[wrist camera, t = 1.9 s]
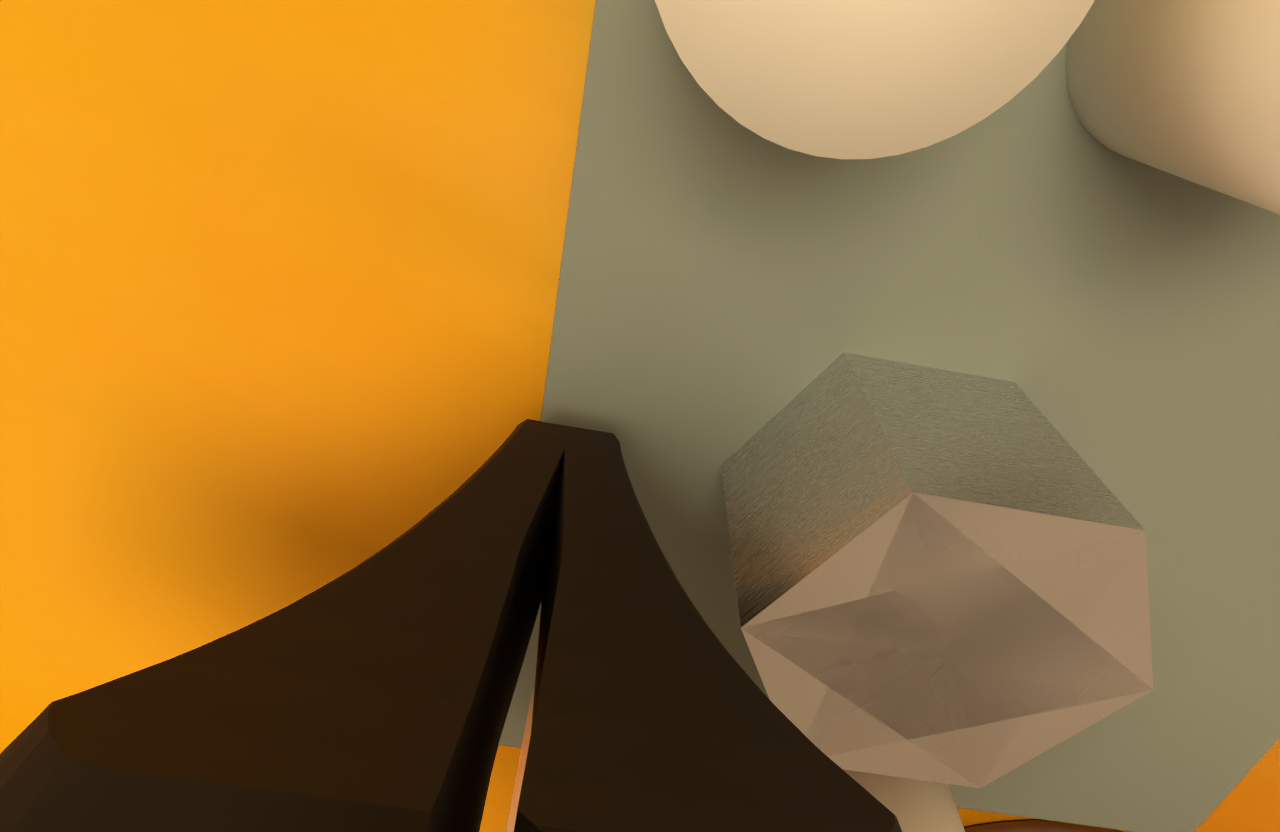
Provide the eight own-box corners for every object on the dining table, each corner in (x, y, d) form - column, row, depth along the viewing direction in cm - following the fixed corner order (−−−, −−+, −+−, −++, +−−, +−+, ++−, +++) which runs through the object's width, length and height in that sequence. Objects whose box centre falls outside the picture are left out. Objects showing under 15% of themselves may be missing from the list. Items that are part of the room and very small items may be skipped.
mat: (1879, 21, 9) (1929, 21, 9) (1176, 821, 17) (1187, 839, 17) (633, -261, 8) (631, -273, 8) (501, 728, 16) (498, 744, 16)
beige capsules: (1403, -96, 8) (2072, -168, 4) (898, 799, 16) (975, 1061, 12) (679, -262, 8) (699, -508, 4) (522, 748, 16) (476, 1004, 12)
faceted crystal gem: (1097, 396, 11) (1257, 549, 8) (978, 616, 14) (1070, 801, 10) (756, 336, 11) (792, 472, 8) (690, 572, 13) (699, 749, 10)
